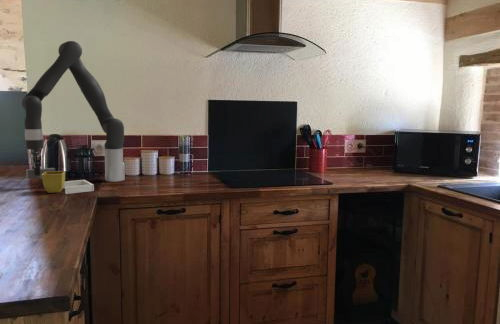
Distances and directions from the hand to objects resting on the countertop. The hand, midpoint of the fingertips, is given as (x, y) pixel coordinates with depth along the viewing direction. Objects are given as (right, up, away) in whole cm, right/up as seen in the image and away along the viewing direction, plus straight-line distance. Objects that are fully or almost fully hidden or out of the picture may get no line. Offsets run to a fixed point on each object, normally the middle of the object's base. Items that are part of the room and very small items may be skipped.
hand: (36, 174), depth 194 cm
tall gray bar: (+1, -1, +1) cm, 2 cm away
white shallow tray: (+19, -7, -1) cm, 20 cm away
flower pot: (+12, -8, -6) cm, 15 cm away
